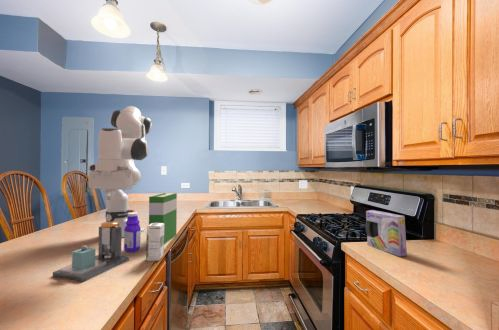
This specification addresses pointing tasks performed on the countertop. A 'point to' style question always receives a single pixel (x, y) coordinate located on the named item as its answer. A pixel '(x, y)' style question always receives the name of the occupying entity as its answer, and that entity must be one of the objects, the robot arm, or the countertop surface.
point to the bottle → (132, 233)
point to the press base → (97, 260)
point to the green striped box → (164, 213)
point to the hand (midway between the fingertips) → (110, 200)
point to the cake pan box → (386, 232)
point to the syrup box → (155, 242)
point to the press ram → (108, 233)
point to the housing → (83, 257)
